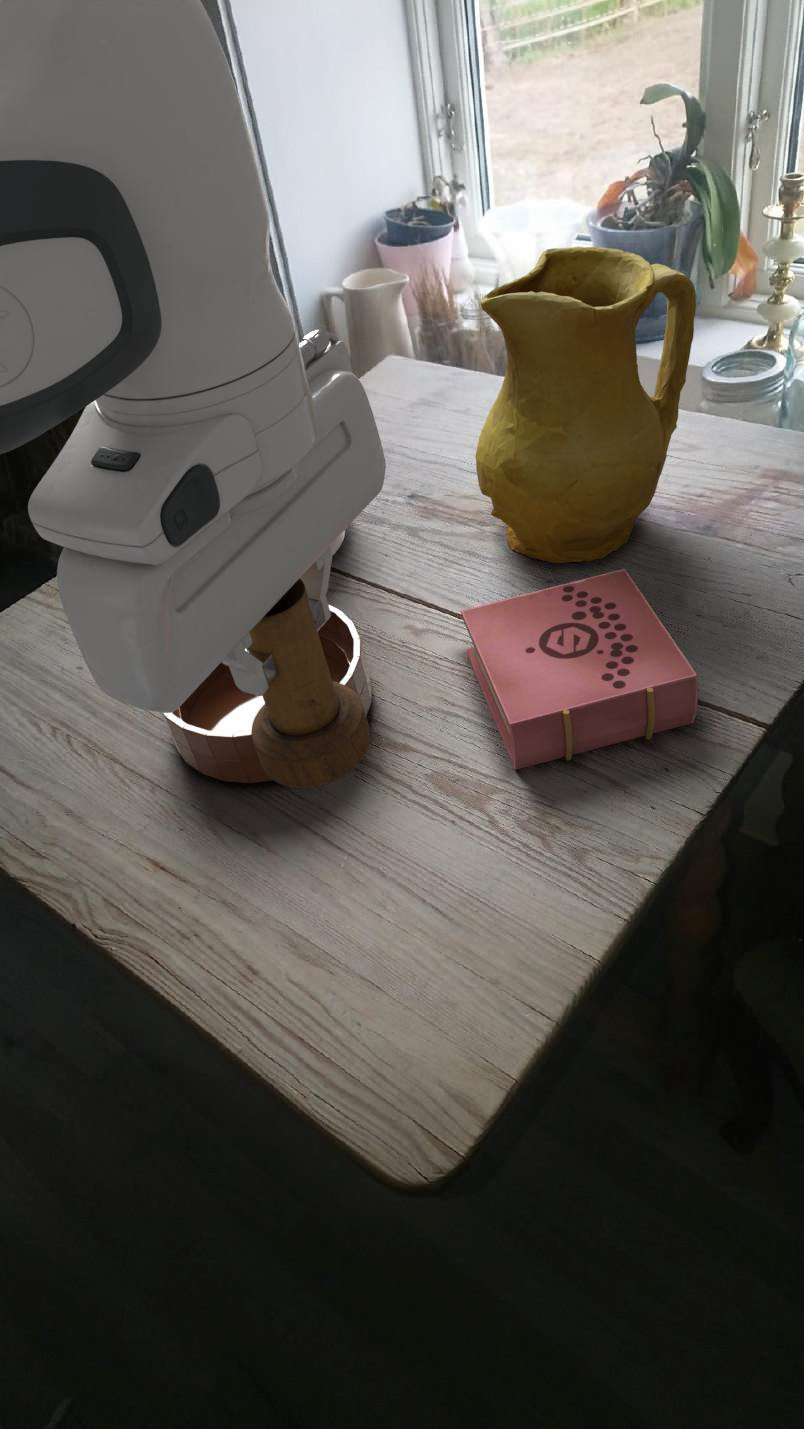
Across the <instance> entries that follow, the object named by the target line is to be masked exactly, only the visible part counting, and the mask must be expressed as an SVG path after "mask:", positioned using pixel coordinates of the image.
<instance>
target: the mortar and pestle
mask: <svg viewBox="0 0 804 1429" xmlns="http://www.w3.org/2000/svg"><path fill="white" fill-rule="evenodd" d="M249 633H250V636H251V639H252V644H251V645H250V646H249V647H248V648H250V649H252V650H254V651H256V652H261V653H270V654H272V655H273V658H274V661H275V669H276V670H277V671H278V674H279V675H278V677H277V679H276V680H275V681H274V682H273V683H272V684H271V686H270V687H269V688H268V689H267V691H266V692H265V693H264V694H263V695H262V696H263V699H264V701H265V704H264V705H263V706H262V707H261V709H260V710H259V711H258V713H257V714H256V716H255V718H254V721H253V724H252V731H251V734H252V740H253V743H254V746H255V749H256V752H257V754H258V757H259V760H260V763H261V765H262V767H263V769H264V771H265V772H266V773H267V775H268V776H269V777H270V778H271V779H273V780H272V781H274V782H276V783H278V784H280V785H282V786H285V787H291V788H315V787H320V786H324V785H327V784H331V783H332V782H335V781H337V780H339V779H341V778H343V777H344V776H346V775H347V774H348V773H350V772H351V771H353V770H354V769H355V768H356V766H357V765H358V764H359V763H360V762H361V760H362V759H363V758H364V757H365V756H366V753H367V751H368V750H369V747H370V742H371V730H370V726H369V721H368V718H367V716H366V715H365V711H364V708H363V705H362V702H361V700H360V698H359V696H358V695H357V694H356V693H355V692H354V691H353V690H352V689H351V688H349V687H348V686H346V685H344V684H341V683H338V682H334V681H332V679H331V675H330V672H329V669H328V665H327V662H326V659H325V655H324V652H323V649H322V645H321V642H320V638H319V635H318V631H317V628H316V624H315V621H314V617H313V614H312V610H311V606H310V603H309V599H308V595H307V592H306V588H305V585H304V583H303V581H302V580H301V579H300V578H299V579H298V580H297V582H296V583H295V584H294V585H293V586H292V587H291V588H290V589H289V590H288V591H287V592H286V593H285V594H284V595H283V597H282V598H281V599H280V600H279V601H278V602H277V603H276V604H275V605H274V606H273V607H272V608H271V609H270V610H269V612H268V613H267V614H266V615H265V616H264V617H263V618H262V619H261V620H260V621H259V622H258V623H257V624H256V625H255V627H254V628H253V629H252V630H251V631H250V632H249Z"/></svg>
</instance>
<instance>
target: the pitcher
mask: <svg viewBox="0 0 804 1429" xmlns="http://www.w3.org/2000/svg"><path fill="white" fill-rule="evenodd" d="M659 293H662V294H663V295H664V296H665V297H666V326H665V331H664V336H663V346H662V354H661V357H660V364H659V367H658V370H657V375H656V376H657V377H656V382H655V386H654V387H655V388H654V393H653V396H650V395H649V394H648V392H646V390H645V389H644V386H643V385H642V383H641V380H640V376H639V375H640V374H639V367H638V366H639V365H638V355H637V354H638V353H637V344H636V328H637V327H638V324H639V321H640V318H641V317H642V315H643V314H644V313H645V312H646V310H647V309H648V308H649V307H650V306H651V305H652V303H653V300H654V299H655V298H656V296H657V295H658V294H659ZM479 304H480V306H481V310H482V311H483V312H485V313H486V314H487V315H488V316H489V317H490V318H491V319H492V321H493V322H494V323H495V324H496V325H497V326H498V327H499V329H500V331H501V333H502V337H503V338H504V339H503V340H504V346H505V347H504V348H505V373H504V379H503V381H502V386H501V388H500V390H499V393H498V394H497V397H496V399H495V401H494V403H493V404H492V406H491V408H490V409H489V413H488V414H487V417H486V418H485V422H484V424H483V426H482V428H481V431H480V434H479V438H478V443H477V447H476V452H475V457H474V458H475V467H476V469H475V470H476V476H477V482H478V487H479V490H480V492H481V495H483V496H485V497H488V498H490V500H491V504H492V507H493V509H492V511H491V512H490V515H491V516H492V517H495V518H496V519H498V520H499V521H502V522H503V523H504V524H505V525H507V526H506V528H507V529H506V531H505V534H506V535H505V539H506V542H507V544H508V547H509V548H510V549H511V550H512V551H514V552H516V553H518V554H520V553H521V554H522V555H524V556H526V557H529V558H530V559H536V560H539V561H541V560H542V561H543V562H545V561H546V562H547V563H551V564H567V563H571V562H572V563H579V562H580V563H582V562H584V561H585V562H593V561H595V560H600V559H604V558H606V557H607V556H608V555H609V554H612V553H613V552H617V551H618V550H619V548H620V547H622V546H624V544H627V543H628V540H629V539H630V537H631V535H632V532H633V530H634V529H633V528H634V526H635V520H636V519H637V518H638V517H639V516H641V514H642V513H643V512H644V511H646V509H648V507H650V505H651V502H652V500H653V498H654V496H655V494H656V491H657V487H658V483H659V480H660V477H661V475H662V472H663V469H664V466H665V463H666V460H667V456H668V450H669V446H670V442H671V439H672V435H673V433H674V432H675V430H676V429H677V428H678V425H677V423H678V420H679V404H680V400H681V391H682V390H683V388H684V386H685V384H686V382H687V379H686V378H687V371H688V366H689V361H690V357H691V350H692V345H693V344H692V343H693V340H694V333H695V318H696V310H697V295H696V288H695V285H694V283H693V281H692V280H691V278H689V277H688V276H687V274H684V273H682V272H680V271H679V270H677V269H676V270H675V269H672V268H670V267H669V266H667V265H664V264H661V263H654V264H651V263H650V262H649V261H648V260H646V259H645V258H643V256H641V255H639V254H636V253H635V252H630V251H624V250H622V249H619V248H612V247H611V248H610V247H602V246H573V247H559V248H557V247H556V248H555V247H554V248H548V249H546V250H543V251H542V253H541V254H540V256H539V258H538V260H537V263H536V264H535V266H534V268H533V269H531V270H530V271H529V272H528V273H527V274H526V275H523V276H521V277H519V278H517V279H514V280H512V281H510V282H506V283H504V284H503V285H500V286H498V287H495V288H493V289H491V291H489V292H488V293H487V294H486V295H484V296H483V297H482V299H481V301H480V302H479Z"/></svg>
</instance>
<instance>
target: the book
mask: <svg viewBox="0 0 804 1429" xmlns="http://www.w3.org/2000/svg"><path fill="white" fill-rule="evenodd" d="M460 615H461V619H462V621H463V623H464V626H465V628H466V631H467V633H468V636H469V637H470V639H471V642H472V644H473V647H471V648H466V656H467V658H468V661H469V663H470V666H471V668H472V671H473V673H474V675H475V678H476V680H477V683H478V685H479V687H480V689H481V692H482V695H483V697H484V699H485V702H486V704H487V706H488V709H489V711H490V714H491V716H492V719H493V722H494V724H495V726H496V728H497V731H498V733H499V735H500V737H501V740H502V743H503V745H504V747H505V750H506V752H507V755H508V757H509V760H510V762H511V764H512V767H513V769H514V771H516V770H517V771H518V770H520V769H525V768H529V767H532V766H536V765H540V764H543V763H547V762H550V761H554V760H558V759H562V758H564V759H565V761H571V760H572V758H573V756H574V755H577V754H580V753H581V754H582V753H585V752H588V751H592V750H597V749H600V748H604V747H607V746H611V745H612V746H613V745H615V744H619V743H622V742H626V741H630V740H634V739H638V738H642V737H645V739H647V740H650V739H651V740H652V737H653V734H656V733H660V732H665V731H668V730H672V729H675V728H679V727H683V726H687V725H690V724H694V722H695V720H696V717H697V712H698V706H699V705H698V702H699V685H698V684H699V683H698V674H697V673H696V672H695V669H694V668H693V667H692V665H691V664H690V662H689V661H688V659H687V658H686V656H685V655H684V653H683V652H682V650H680V648H679V646H678V644H676V642H675V641H674V639H673V638H672V636H671V634H670V633H669V632H668V630H667V629H666V626H664V624H663V622H662V621H661V620H660V618H659V617H658V616H657V614H656V612H655V611H654V609H653V608H652V606H651V605H650V604H649V602H648V601H647V598H645V596H644V595H643V593H642V592H641V590H640V589H639V588H638V586H637V584H636V583H635V582H634V580H633V579H632V577H631V575H630V574H629V573H628V571H627V570H626V568H622V569H618V570H614V571H610V572H607V573H606V572H605V573H602V574H598V575H594V576H590V577H586V578H583V579H578V580H574V581H571V582H567V583H562V584H559V585H554V586H552V587H547V588H543V589H539V590H536V591H535V590H534V591H532V592H528V593H524V594H520V595H516V596H512V597H508V598H504V599H500V600H497V601H493V602H489V603H484V604H481V605H477V606H473V607H470V608H465V609H461V610H460Z"/></svg>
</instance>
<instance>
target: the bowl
mask: <svg viewBox="0 0 804 1429" xmlns="http://www.w3.org/2000/svg"><path fill="white" fill-rule="evenodd" d="M328 605H329V609H330V613H331V616H330V618H329V619H328V620H327V621H326V623H325V624H324V625H323V626H322V627H321V628H320V629H319V630H318V635H319V638H320V642H321V645H322V649H323V652H324V655H325V659H326V662H327V665H328V669H329V672H330V675H331V679H332V681H334V682H338V683H341V684H344V685H346V686H348V687H349V688H351V689H352V690H353V691H354V692H355V693H356V694H357V695H358V696H359V698H360V700H361V702H362V705H363V708H364V711H365V715H366V717H367V716H368V713H369V710H370V707H371V704H372V682H371V677H370V673H369V669H368V664H367V661H366V660H367V659H366V657H365V653H364V648H363V643H362V639H361V636H360V634H359V632H358V629H357V628H356V625H355V622H353V620H352V619H350V618H349V617H348V616H347V615H346V614H345V613H344V612H343V611H342V610H341V609H338V608H337V607H335V606H333V605H331V604H329V603H328ZM264 704H265V701H264V699H263V696H257V695H253V694H250V693H247V692H243V691H242V690H240V689H239V688H238V687H237V686H236V684H235V681H234V679H233V676H232V673H231V671H230V668H229V666H226V665H225V664H223V663H220V664H219V665H218V666H217V667H216V668H215V669H214V670H213V672H212V673H211V674H210V675H209V676H208V677H207V678H206V679H205V680H204V681H203V682H202V683H201V684H200V685H199V687H198V688H197V689H196V690H195V691H194V692H193V693H192V694H191V695H190V696H189V697H188V698H187V700H186V701H185V702H184V703H183V704H182V705H181V706H180V707H179V708H178V709H177V710H175V711H174V712H171V713H162V712H159V714H160V717H161V718H162V721H163V723H164V725H165V728H166V730H167V731H168V734H169V736H170V738H171V741H172V743H173V746H174V747H175V748H176V750H177V751H178V753H179V755H180V756H181V758H182V759H183V761H184V762H185V763H186V764H188V765H189V766H191V767H192V768H194V769H195V770H196V771H198V772H199V773H200V774H202V775H205V776H207V777H211V778H214V779H217V780H220V781H224V782H230V783H231V782H232V783H241V784H242V783H243V784H255V783H256V784H257V783H264V782H272V781H274V780H273V779H271V778H270V777H269V776H268V775H267V773H266V772H265V771H264V769H263V767H262V765H261V763H260V760H259V757H258V754H257V752H256V749H255V746H254V743H253V740H252V734H251V731H252V724H253V721H254V718H255V716H256V714H257V713H258V711H259V710H260V709H261V707H262V706H263V705H264Z"/></svg>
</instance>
